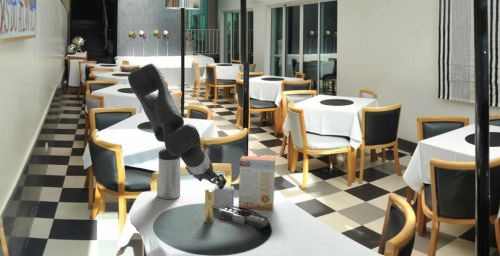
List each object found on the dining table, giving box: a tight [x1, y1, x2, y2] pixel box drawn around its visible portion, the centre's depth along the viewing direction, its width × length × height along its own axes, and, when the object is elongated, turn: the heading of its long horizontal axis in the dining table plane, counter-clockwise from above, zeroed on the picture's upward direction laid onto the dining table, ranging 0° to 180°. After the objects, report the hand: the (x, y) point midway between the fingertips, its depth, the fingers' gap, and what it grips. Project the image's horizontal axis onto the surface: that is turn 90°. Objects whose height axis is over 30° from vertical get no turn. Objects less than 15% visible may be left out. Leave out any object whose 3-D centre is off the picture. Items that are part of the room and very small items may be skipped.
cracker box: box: [238, 155, 276, 211], centre depth 185 cm, size 14×6×21 cm, turn 82°
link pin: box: [204, 188, 215, 223], centre depth 169 cm, size 4×4×12 cm
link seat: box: [232, 208, 254, 226], centre depth 171 cm, size 5×7×3 cm
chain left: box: [218, 206, 242, 222], centre depth 175 cm, size 7×5×3 cm
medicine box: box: [213, 185, 235, 208], centre depth 184 cm, size 8×4×9 cm, turn 92°
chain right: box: [245, 213, 269, 230], centre depth 168 cm, size 7×5×3 cm
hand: (211, 182), depth 162 cm, fingers open, 8 cm apart
